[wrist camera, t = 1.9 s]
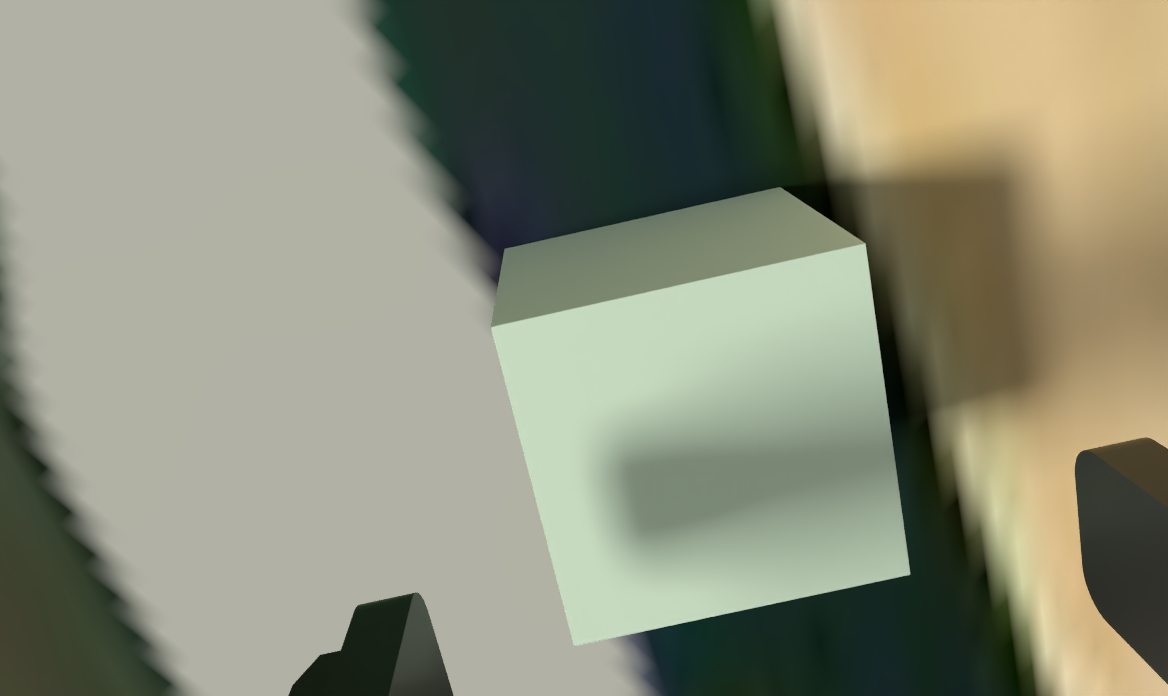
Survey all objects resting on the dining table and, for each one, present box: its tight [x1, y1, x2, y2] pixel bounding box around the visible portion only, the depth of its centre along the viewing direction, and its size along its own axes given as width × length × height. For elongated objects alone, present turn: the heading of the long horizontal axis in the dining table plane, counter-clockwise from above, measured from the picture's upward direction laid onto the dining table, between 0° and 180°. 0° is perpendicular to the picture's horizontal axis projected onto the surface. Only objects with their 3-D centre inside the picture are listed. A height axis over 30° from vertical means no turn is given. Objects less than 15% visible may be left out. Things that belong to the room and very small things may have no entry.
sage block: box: [491, 187, 910, 646], centre depth 18 cm, size 6×6×6 cm
